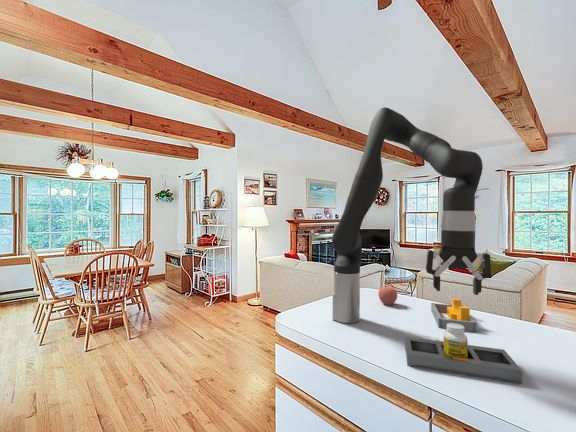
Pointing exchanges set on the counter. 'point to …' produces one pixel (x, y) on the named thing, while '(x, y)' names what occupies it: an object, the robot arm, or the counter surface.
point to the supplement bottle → (455, 341)
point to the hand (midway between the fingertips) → (456, 292)
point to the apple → (387, 295)
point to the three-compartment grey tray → (463, 360)
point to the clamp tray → (443, 322)
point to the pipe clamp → (458, 311)
